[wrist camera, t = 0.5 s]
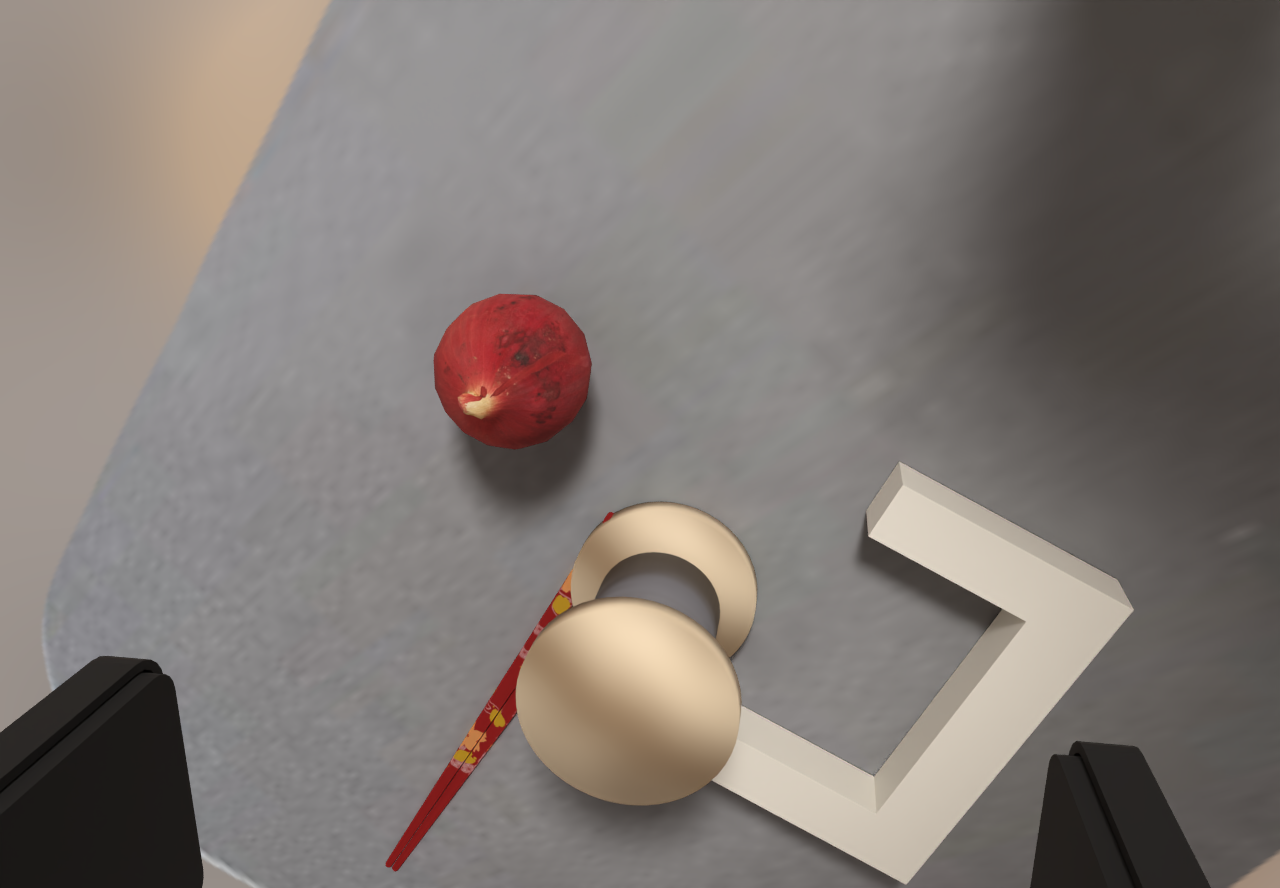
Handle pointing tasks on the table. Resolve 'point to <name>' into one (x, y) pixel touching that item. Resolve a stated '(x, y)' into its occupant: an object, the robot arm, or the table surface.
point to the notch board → (968, 702)
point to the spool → (643, 658)
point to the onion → (512, 370)
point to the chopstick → (478, 735)
